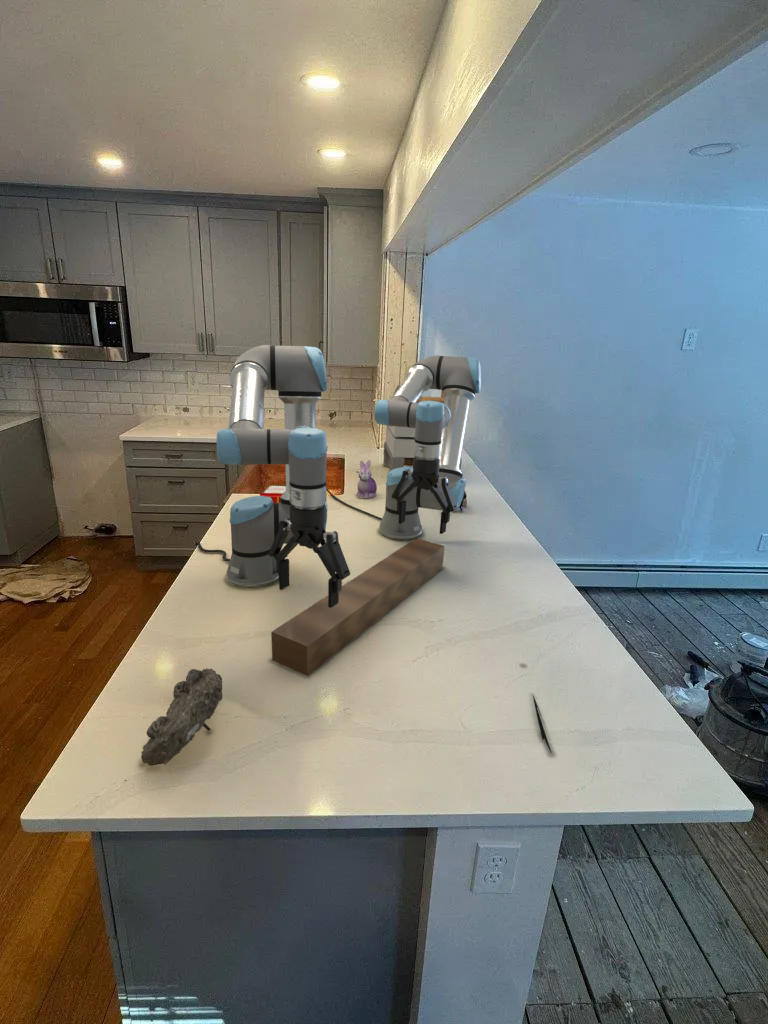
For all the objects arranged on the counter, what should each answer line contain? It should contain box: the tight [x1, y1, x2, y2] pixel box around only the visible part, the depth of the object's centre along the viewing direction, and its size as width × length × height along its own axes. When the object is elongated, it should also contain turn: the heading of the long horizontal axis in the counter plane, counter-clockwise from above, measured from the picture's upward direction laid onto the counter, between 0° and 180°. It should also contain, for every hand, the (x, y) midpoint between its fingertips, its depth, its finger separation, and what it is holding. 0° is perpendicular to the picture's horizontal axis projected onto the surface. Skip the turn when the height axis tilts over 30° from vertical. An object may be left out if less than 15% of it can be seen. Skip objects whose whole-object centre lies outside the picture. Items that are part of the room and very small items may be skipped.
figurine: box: [356, 459, 378, 499], centre depth 236 cm, size 9×10×15 cm
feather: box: [522, 663, 555, 753], centre depth 115 cm, size 2×28×2 cm
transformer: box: [383, 384, 463, 472], centre depth 268 cm, size 34×33×41 cm
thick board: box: [270, 538, 446, 677], centre depth 149 cm, size 66×10×7 cm, turn 149°
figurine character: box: [457, 490, 468, 512], centre depth 228 cm, size 7×8×15 cm
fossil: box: [140, 667, 224, 767], centre depth 103 cm, size 22×10×15 cm
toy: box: [259, 485, 286, 503], centre depth 208 cm, size 12×13×30 cm
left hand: (308, 596), depth 124 cm, fingers open, 13 cm apart
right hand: (421, 527), depth 167 cm, fingers open, 13 cm apart
